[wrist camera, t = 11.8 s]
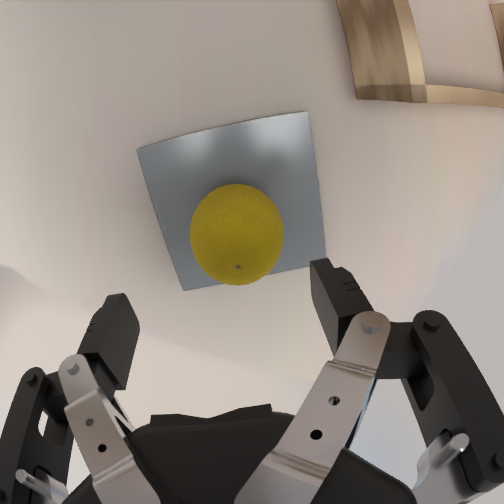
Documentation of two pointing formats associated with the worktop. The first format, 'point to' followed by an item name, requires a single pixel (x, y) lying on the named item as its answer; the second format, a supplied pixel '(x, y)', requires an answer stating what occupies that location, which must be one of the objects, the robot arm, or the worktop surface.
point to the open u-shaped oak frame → (401, 55)
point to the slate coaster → (238, 172)
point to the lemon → (236, 234)
